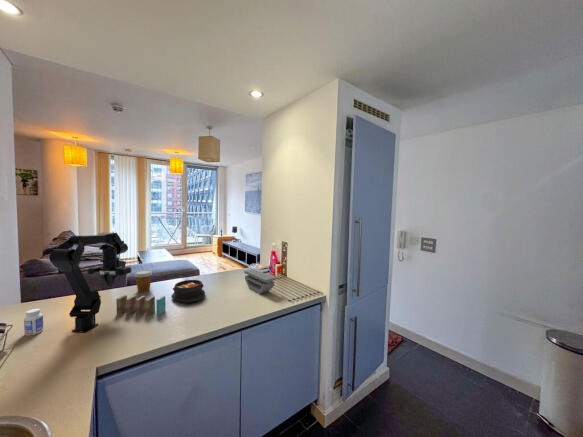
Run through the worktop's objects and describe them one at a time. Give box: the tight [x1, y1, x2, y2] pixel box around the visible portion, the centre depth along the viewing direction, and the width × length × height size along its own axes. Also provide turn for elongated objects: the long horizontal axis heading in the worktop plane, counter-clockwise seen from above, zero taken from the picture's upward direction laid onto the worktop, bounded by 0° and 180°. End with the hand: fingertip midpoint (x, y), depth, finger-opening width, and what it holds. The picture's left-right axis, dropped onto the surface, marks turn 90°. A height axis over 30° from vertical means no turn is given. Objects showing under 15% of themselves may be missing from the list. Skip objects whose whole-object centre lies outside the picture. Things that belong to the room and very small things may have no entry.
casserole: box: [171, 279, 206, 304], centre depth 139 cm, size 25×19×8 cm
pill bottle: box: [23, 308, 44, 337], centre depth 98 cm, size 5×5×10 cm
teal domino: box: [155, 295, 166, 316], centre depth 118 cm, size 5×2×8 cm, turn 177°
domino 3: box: [135, 295, 146, 316], centre depth 118 cm, size 5×2×8 cm, turn 177°
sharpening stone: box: [243, 268, 276, 295], centre depth 153 cm, size 25×8×11 cm, turn 43°
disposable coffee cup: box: [134, 269, 153, 293], centre depth 147 cm, size 10×10×12 cm
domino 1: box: [115, 294, 128, 315], centre depth 118 cm, size 5×2×8 cm, turn 177°
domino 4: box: [144, 295, 156, 317], centre depth 118 cm, size 5×2×8 cm, turn 177°
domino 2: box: [125, 294, 137, 316], centre depth 118 cm, size 5×2×8 cm, turn 177°
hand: (110, 287), depth 118 cm, fingers closed
